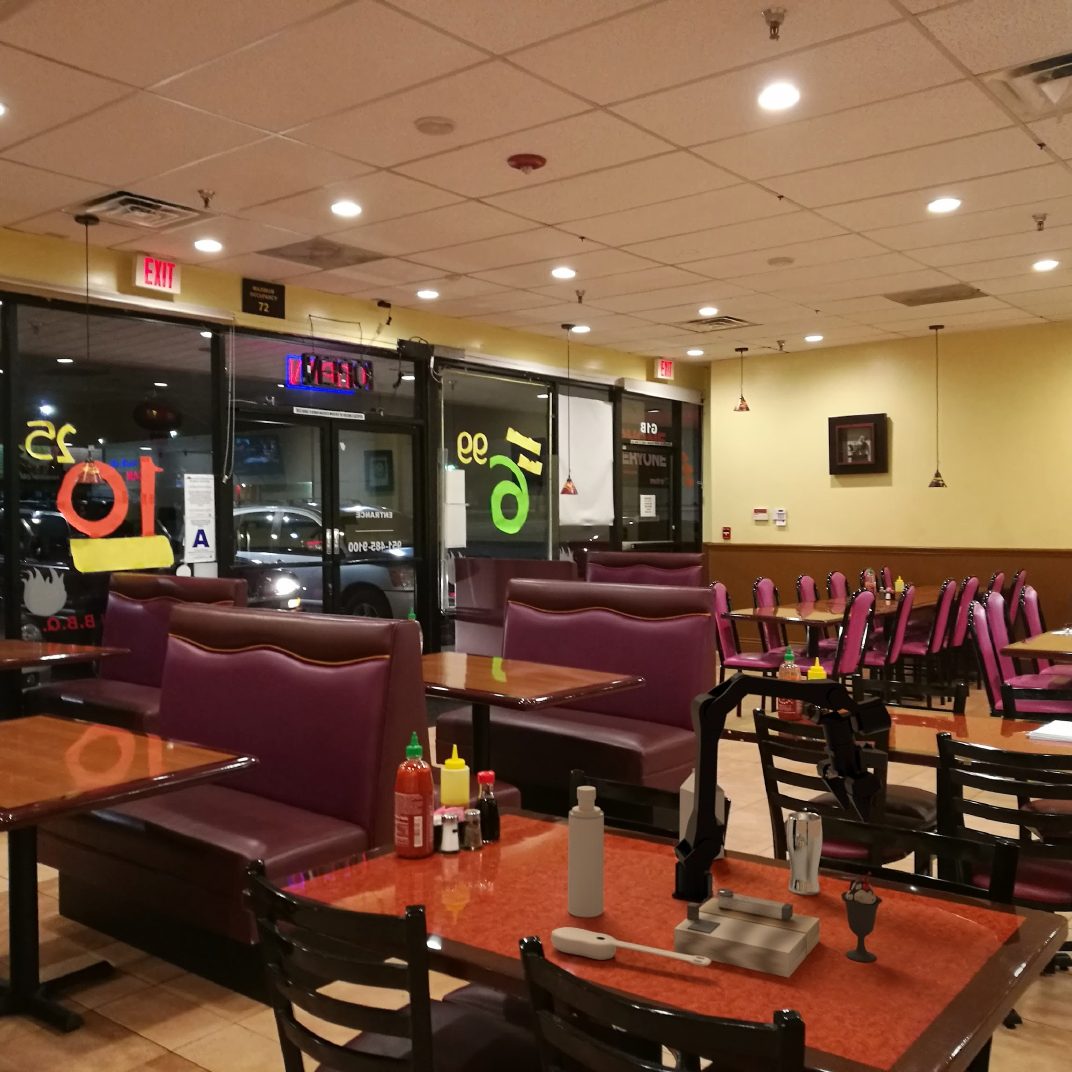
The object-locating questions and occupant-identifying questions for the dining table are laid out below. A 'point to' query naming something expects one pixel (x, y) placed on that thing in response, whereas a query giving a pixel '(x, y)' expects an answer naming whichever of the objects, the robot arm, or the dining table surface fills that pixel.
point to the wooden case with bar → (746, 938)
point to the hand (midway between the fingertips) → (856, 816)
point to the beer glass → (804, 851)
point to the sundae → (861, 916)
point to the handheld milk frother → (607, 946)
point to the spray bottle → (585, 856)
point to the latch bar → (754, 905)
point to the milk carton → (688, 804)
